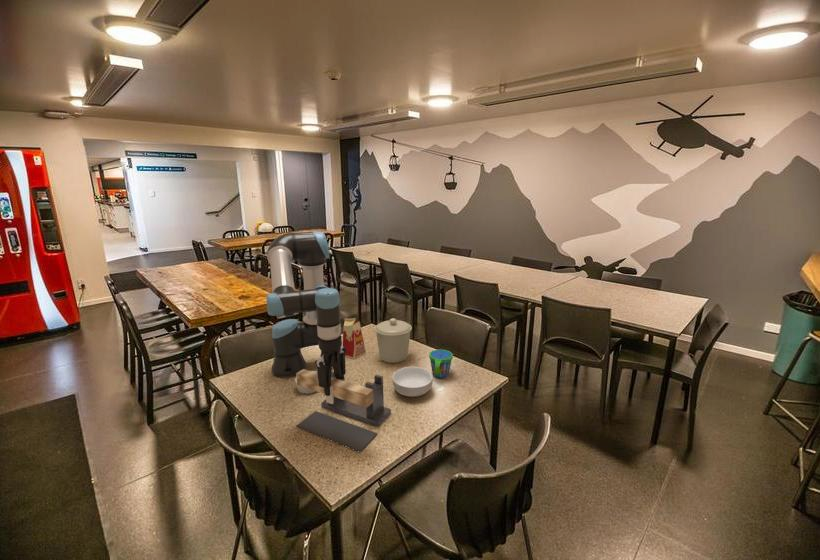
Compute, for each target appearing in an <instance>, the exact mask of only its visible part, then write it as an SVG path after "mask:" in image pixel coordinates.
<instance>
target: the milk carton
mask: <svg viewBox="0 0 820 560" xmlns="http://www.w3.org/2000/svg"><path fill="white" fill-rule="evenodd" d="M343 320H344V322H343V323H344V324H343V330H342V347H345V348H346V353H345V358H350V359H352V360H355V359H357V358H359V357H361V356H362V355H364V354H367V350H366V345H365V339H364V336H363V331H362V327H361V323H360V320H357V318H356V317H353V318H344V319H343Z"/></svg>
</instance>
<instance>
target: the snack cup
mask: <svg viewBox="0 0 820 560" xmlns="http://www.w3.org/2000/svg"><path fill="white" fill-rule="evenodd" d="M428 354H429V355H428V359H429V361H430V367H431V374H432V376H433V377H435V378H437V379H445V378H448V376H449V375H450V371H451V367H452V360H453V357H454V354H453V353H452V352H451V351H450V350H447V349H433V350H431V351H430V352H429V353H428Z"/></svg>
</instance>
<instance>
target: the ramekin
mask: <svg viewBox="0 0 820 560" xmlns="http://www.w3.org/2000/svg"><path fill="white" fill-rule="evenodd" d="M311 371H312V372H315V373H317V370H311ZM294 382H295V384H296V387H297V390H298V392H299V393H301V394H304V393H305V394H304V395H309V393H310V394H313V393H317V391H314V390H311V389H308V388H305V387H302V386H299V385H297V377H295V378H294Z"/></svg>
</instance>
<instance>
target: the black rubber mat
mask: <svg viewBox="0 0 820 560" xmlns="http://www.w3.org/2000/svg"><path fill="white" fill-rule="evenodd" d="M295 427H296V428H297V427H298V428H297V429H300V428H301V429H300V430H302V429H304V430H303V431H305V430H306V431H305V432H307V431H309V432H308V433H310V432H311V433H310V434H312V433H313V435H315V434H316V435H315V436H317V435H318V436H317V437H320V436H321V437H320V438H322V437H324V438H323V439H325V438H326V439H325V440H327V439H329V440H328V441H330V440H332V441H334V442H333V443H335V442H337V443H339V444H338V445H340V444H341V445H340V446H342V445H344V446H343V447H345V446H347V447H349V448H348V449H350V448H351V449H350V450H352V449H354V450H353V451H355V450H356V451H355V452H357V451H359V452H358V453H360V452H361V451H362V450H363V449H364V448H365V449H366V448H367V446H368V445H369V444H370V443H372V441H373V440H374V439H375V438H376V437H377V436H378V433H377V432H376V431H373V430H370V429H367V428H365V427H362V426H359V425H356V424H353V423H350V422H348V421H345V420H342V419H339V418H336V417H333V416H331V415H328V414H325V413H322V412H320V411H317V410H314V411H313V412H311V413H310V414H309V415H308V416H307V417H305V418H304V419H303V420H302V421H300V422H299V423H298V424H296V425H295ZM332 441H331V442H332ZM337 443H336V444H337ZM347 447H346V448H347ZM365 449H364V450H365ZM364 450H363V451H364ZM363 451H362V452H363ZM362 452H361V453H362Z"/></svg>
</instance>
